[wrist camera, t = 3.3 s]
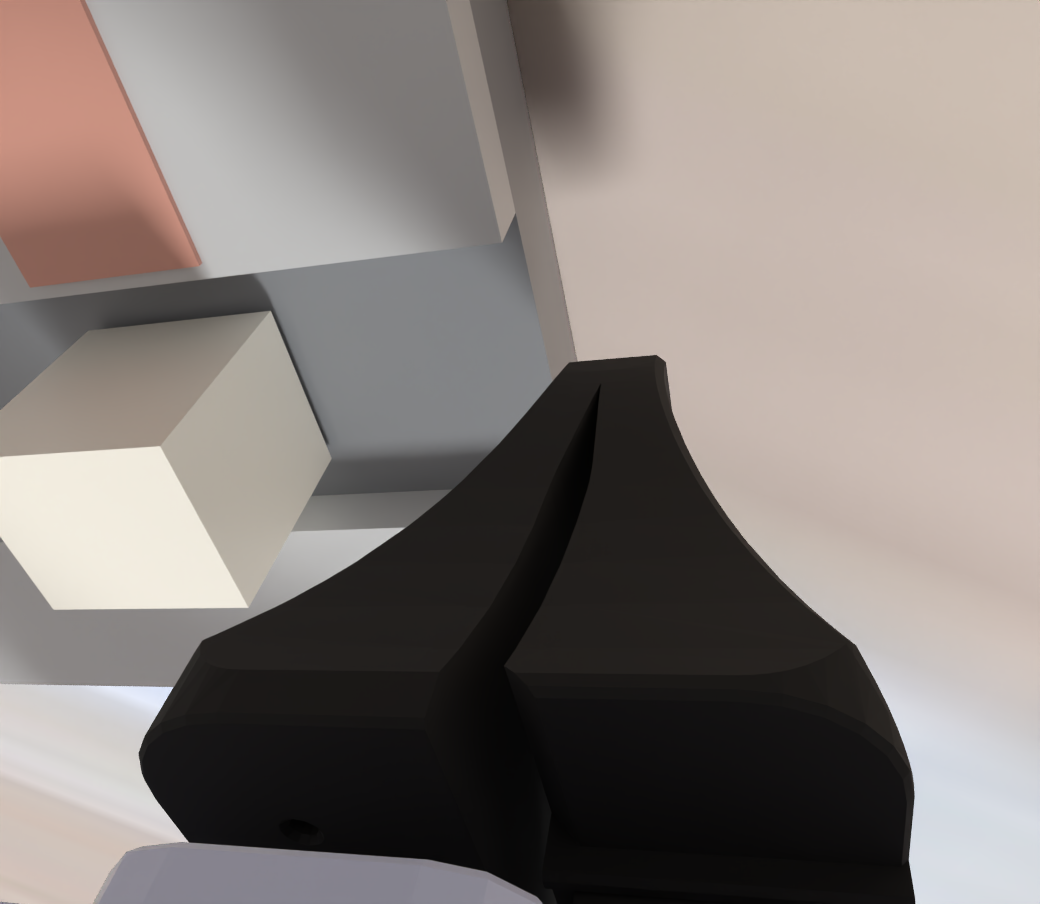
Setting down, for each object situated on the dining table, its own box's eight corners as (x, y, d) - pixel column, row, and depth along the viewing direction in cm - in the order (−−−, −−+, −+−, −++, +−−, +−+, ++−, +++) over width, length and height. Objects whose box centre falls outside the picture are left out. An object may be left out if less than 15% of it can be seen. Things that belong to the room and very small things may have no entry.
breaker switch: (332, 458, 16) (249, 607, 13) (164, 468, 17) (53, 609, 14) (271, 310, 14) (160, 446, 11) (88, 331, 15) (-55, 460, 12)
